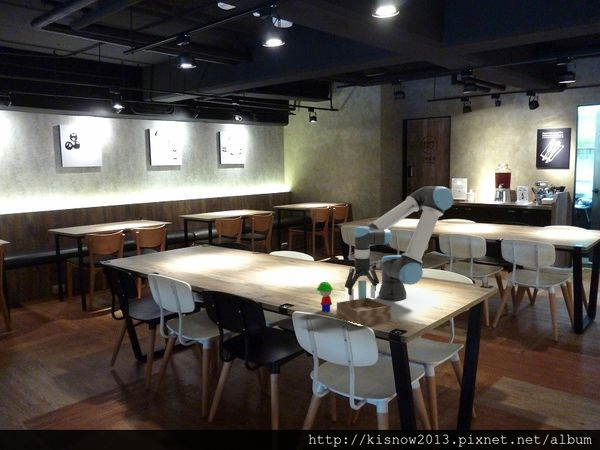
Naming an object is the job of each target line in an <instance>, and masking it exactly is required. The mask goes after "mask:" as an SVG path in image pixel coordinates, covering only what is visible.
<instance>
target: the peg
mask: <svg viewBox="0 0 600 450" xmlns="http://www.w3.org/2000/svg"><path fill="white" fill-rule="evenodd" d="M357 281H358V282H357V283H358V284H357V287H358V288H357V289H358V290H357V291H358V298H357V299H362V298H367V280H363V279H362V280H361V279H360V280H357Z"/></svg>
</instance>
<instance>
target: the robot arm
mask: <svg viewBox="0 0 600 450" xmlns="http://www.w3.org/2000/svg"><path fill="white" fill-rule="evenodd" d="M453 203H454V196H453V193H452V192H451V190H450V189H449V188H448V187H445V186H435V185H434V186H433V185H432V186H431V185H429V186H428V185H427V186H423V187H420V188H419V189H417V190H415V191H414V192H412V193H411V194H409V195H408V196H406V198H405V199H404V201H402V202H401V203H400V204H397V206H395V207H393V208H392V209H391V210H389V211H388V212H386V213H384V214H383V215H382V216H380V217H378V218H377V219H376V220H374V221H372V222H371V223H369V224H368V225H367V226H364V225H363V226H355V228H354V235H353V236H354V268H351V267H350V268H349V272H348V276H347V278H346V281H345V283H344V288H347V295H348V296H349V299H348V301H350V300H355V299H354V297H355V295H354V293H355V291H354V290H355V289H354V286H355V284H356V283H357V281H358V279H359V278H361V277H366V278H367V279H368V281H369V282H370V283H371V284H370V299H376V291H377V286H378V285H379V284H380V280H379V277H378V274H377V273H376V267H375V266H373V265H370V264H371V262H370V261H371V258H370V257H371V256H370V255H371V254H370V253H371V248H370V247H371V246H376V245H377V246H378V245H388V244H391V242H392V240H393V235H392V232H391V230H390V228H392V227H393V226H395V225H396V224H398V223H399V222H400V221H402V220H403V219H405V218H406V217H408V216H409V215H411V214H412V213H414V212H419V211H420V210H422V213H421V215H420V218H419V219H418V222H417V225H416V227H415V230H414V232H413V234H412V237H411V239H410V241H409V243H408V246H407V248H406V250H405V252H403V253H402V254H396V255H395V254H394V255H393V254H392V255H384V256H383V257H382V258H381V285H380V288H379V290H378V298H380V299H382V300H386V301H399V300H402V301H403V300H404V299H406V298H407V295H408V294H407V291H406V288H405V285H409V286H413V285H415V284H417V283H418V282H419V281H420V280H421V279H422V277H423V274H424V273H423V272H424V271H423V267H422V265H423V260H422V258H423V255H424V253H425V251H426V248H427V246H428V244H429V242H430V240H431V237H432V234H433V232H434V230H435V227H436V224H437V222H438V220H439V217H442V216H443V215H444V213H445V211H446V210H448V209H450V208H451V207H452V206H453Z"/></svg>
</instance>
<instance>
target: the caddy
mask: <svg viewBox="0 0 600 450" xmlns="http://www.w3.org/2000/svg"><path fill="white" fill-rule="evenodd" d="M391 310H392V309H391V305H389V304H386V303H384V302H380V301H378V300H376V299H374V298H371V297H366V298H362V299H358V298H356V299H354V300H350V301H349V300H346V301H345V300H344V301H339V302H336V318H338V319H340V320H342V319H343V320H342V321H344V320H346V321H350V322H353V323H357V324H361V325H365V326H370V325H375V324H380V323H386V322H391V321H392V320H391V319H392V317H391V315H392V314H391V312H392V311H391ZM346 321H345V322H346ZM365 326H364V327H365Z"/></svg>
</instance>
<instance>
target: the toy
mask: <svg viewBox="0 0 600 450" xmlns="http://www.w3.org/2000/svg"><path fill="white" fill-rule="evenodd" d="M333 290H334V289H333V287H332V285H331V284H330V283H329V282H328V281H322V282H320V283H319V285H318V287H316V291H319V294H320V295H321V296H322V298H321V302H320V305H321V312H325V313H331V305H333V303H332V299H331V296H330V295H331V293H332V291H333Z"/></svg>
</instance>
